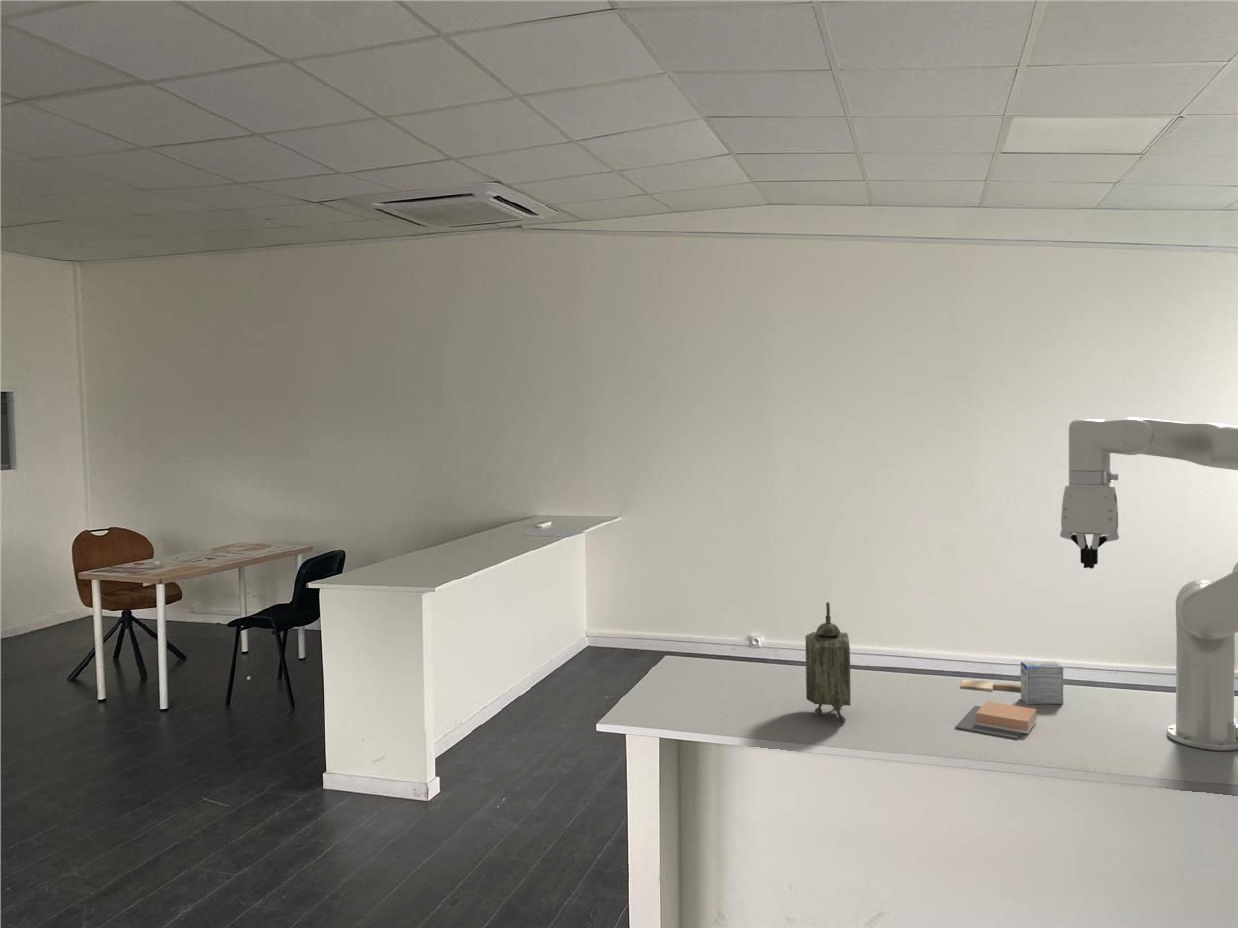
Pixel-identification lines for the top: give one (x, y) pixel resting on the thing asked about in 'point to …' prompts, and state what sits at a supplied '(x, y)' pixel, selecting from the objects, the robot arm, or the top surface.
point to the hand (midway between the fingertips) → (1089, 567)
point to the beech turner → (988, 685)
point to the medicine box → (1042, 682)
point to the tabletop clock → (828, 667)
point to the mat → (970, 725)
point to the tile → (1006, 717)
